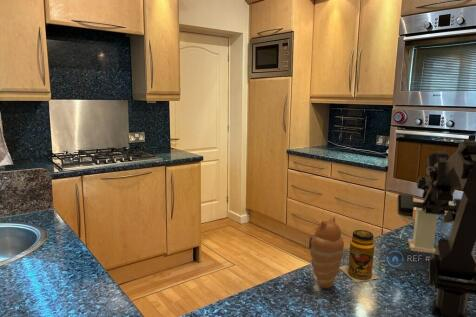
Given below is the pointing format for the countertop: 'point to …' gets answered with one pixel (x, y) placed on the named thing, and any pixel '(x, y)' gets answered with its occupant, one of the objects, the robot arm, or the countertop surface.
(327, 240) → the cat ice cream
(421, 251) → the square plate with knob
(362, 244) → the condiment
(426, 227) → the tan rectangular pillar
